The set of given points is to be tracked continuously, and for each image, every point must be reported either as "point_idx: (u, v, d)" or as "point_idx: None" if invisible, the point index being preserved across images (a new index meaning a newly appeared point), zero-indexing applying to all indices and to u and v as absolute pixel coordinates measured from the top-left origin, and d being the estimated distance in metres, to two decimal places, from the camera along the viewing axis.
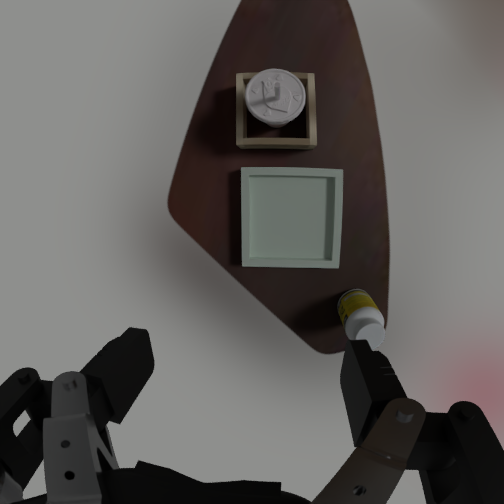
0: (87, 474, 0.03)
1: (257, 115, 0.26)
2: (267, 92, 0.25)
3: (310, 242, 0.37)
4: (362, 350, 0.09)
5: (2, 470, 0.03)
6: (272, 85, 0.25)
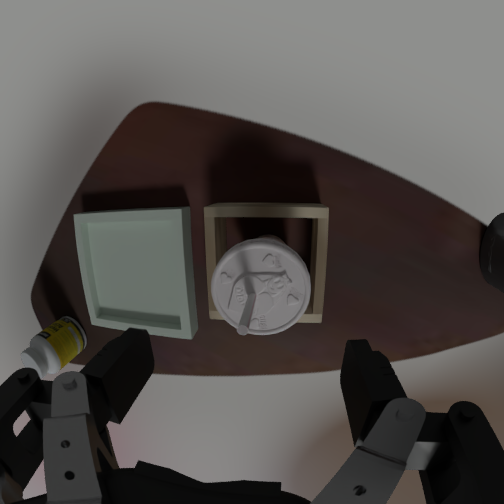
0: (87, 474, 0.03)
1: (221, 262, 0.17)
2: (262, 281, 0.17)
3: (111, 293, 0.28)
4: (362, 350, 0.09)
5: (2, 470, 0.03)
6: (276, 289, 0.17)
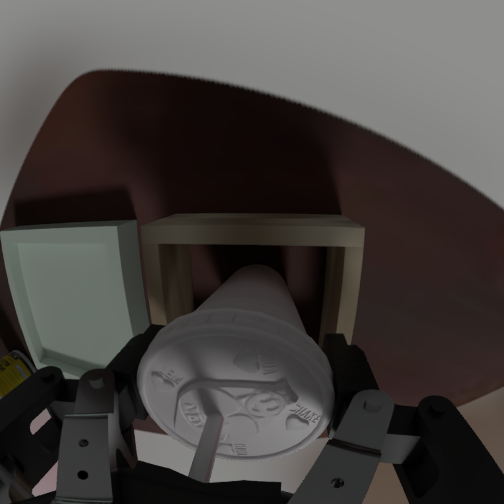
0: (100, 475, 0.03)
1: (147, 356, 0.07)
2: (235, 397, 0.07)
3: (51, 333, 0.18)
4: (337, 343, 0.09)
5: (13, 467, 0.03)
6: (263, 411, 0.07)
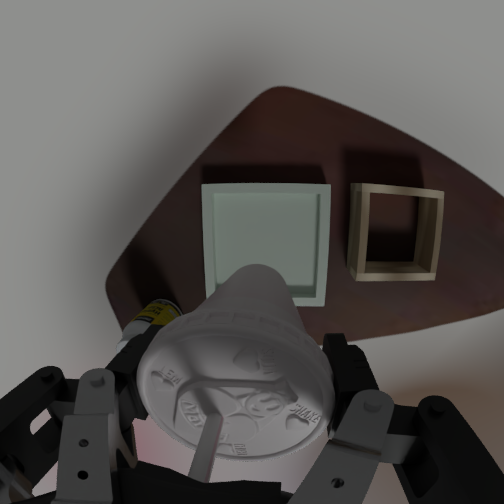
0: (101, 476, 0.03)
1: (147, 356, 0.07)
2: (235, 396, 0.07)
3: (235, 267, 0.31)
4: (337, 343, 0.09)
5: (13, 467, 0.03)
6: (263, 411, 0.07)
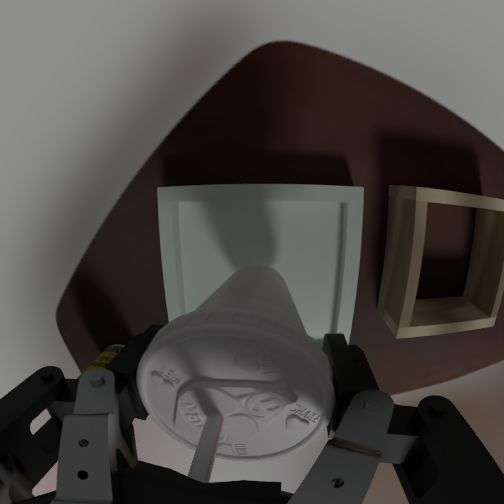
0: (101, 476, 0.03)
1: (147, 355, 0.07)
2: (235, 396, 0.07)
3: None
4: (337, 343, 0.09)
5: (13, 467, 0.03)
6: (263, 411, 0.07)
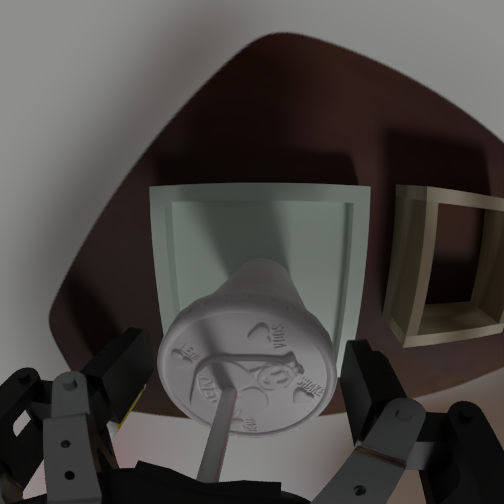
0: (87, 474, 0.03)
1: (169, 334, 0.09)
2: (248, 370, 0.08)
3: None
4: (362, 350, 0.09)
5: (2, 470, 0.03)
6: (273, 384, 0.08)
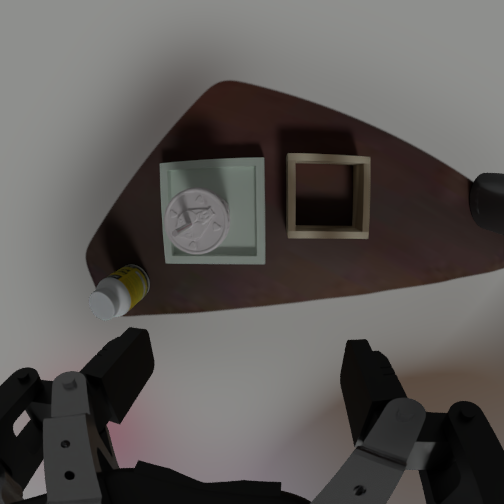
0: (87, 474, 0.03)
1: (169, 203, 0.25)
2: (195, 213, 0.25)
3: None
4: (362, 350, 0.09)
5: (2, 470, 0.03)
6: (204, 219, 0.25)
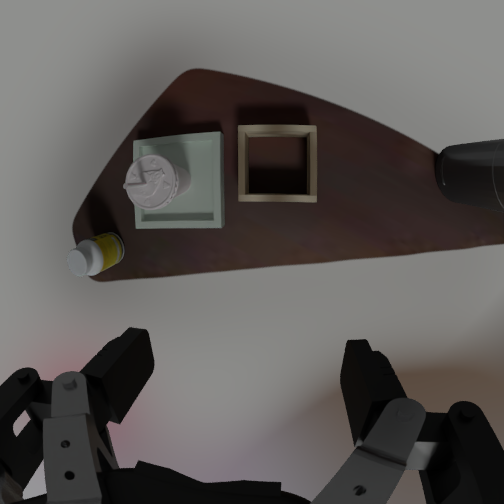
0: (87, 474, 0.03)
1: (130, 167, 0.28)
2: (149, 174, 0.28)
3: None
4: (362, 350, 0.09)
5: (2, 470, 0.03)
6: (156, 178, 0.28)
